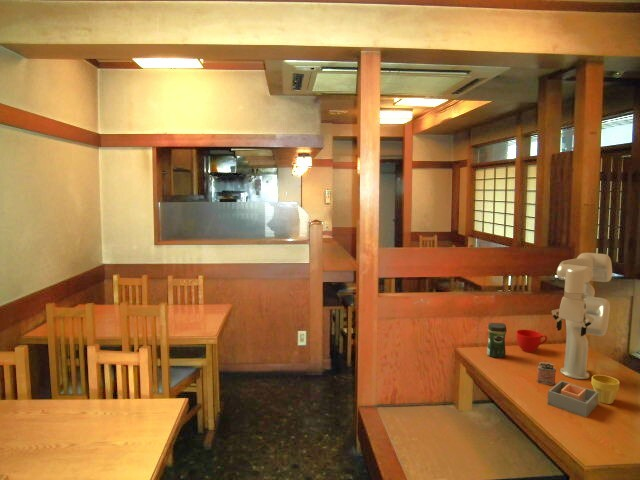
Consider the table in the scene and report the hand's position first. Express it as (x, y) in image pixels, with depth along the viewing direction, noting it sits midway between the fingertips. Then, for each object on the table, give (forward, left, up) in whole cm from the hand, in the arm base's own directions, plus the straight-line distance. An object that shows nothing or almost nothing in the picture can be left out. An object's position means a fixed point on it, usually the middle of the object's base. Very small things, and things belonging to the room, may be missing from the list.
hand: (570, 332), depth 197 cm
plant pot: (-4, +14, -28) cm, 32 cm away
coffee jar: (-18, -42, -28) cm, 54 cm away
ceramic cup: (-41, -32, -28) cm, 59 cm away
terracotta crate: (+11, +6, -28) cm, 30 cm away
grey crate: (+11, +6, -28) cm, 31 cm away
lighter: (-3, -10, -28) cm, 30 cm away
